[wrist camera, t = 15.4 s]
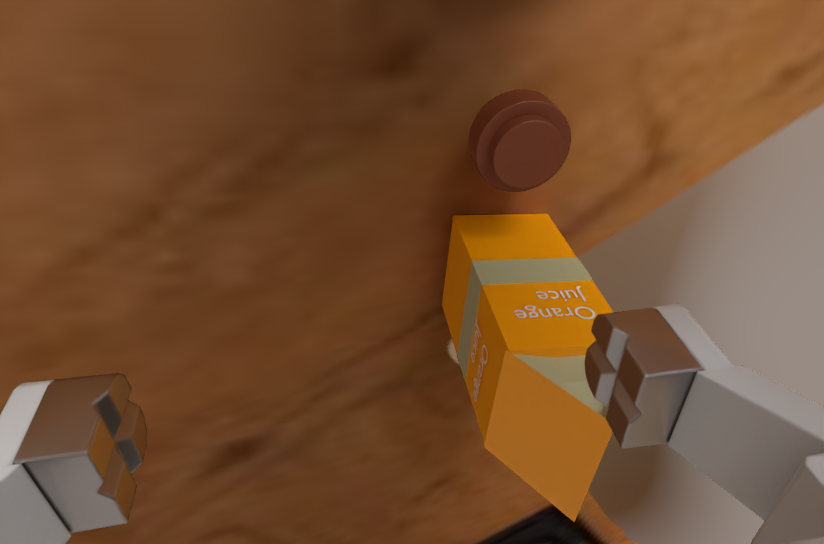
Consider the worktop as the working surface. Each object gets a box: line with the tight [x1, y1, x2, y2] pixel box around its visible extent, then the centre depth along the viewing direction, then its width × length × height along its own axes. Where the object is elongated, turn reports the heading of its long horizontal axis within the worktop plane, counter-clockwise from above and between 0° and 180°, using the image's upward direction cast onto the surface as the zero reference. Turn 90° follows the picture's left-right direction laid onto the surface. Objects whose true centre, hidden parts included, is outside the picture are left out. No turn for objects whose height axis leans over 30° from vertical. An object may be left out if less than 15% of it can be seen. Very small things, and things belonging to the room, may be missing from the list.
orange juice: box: [442, 214, 613, 522], centre depth 39 cm, size 8×9×20 cm
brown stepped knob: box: [469, 90, 571, 192], centre depth 37 cm, size 6×6×6 cm
